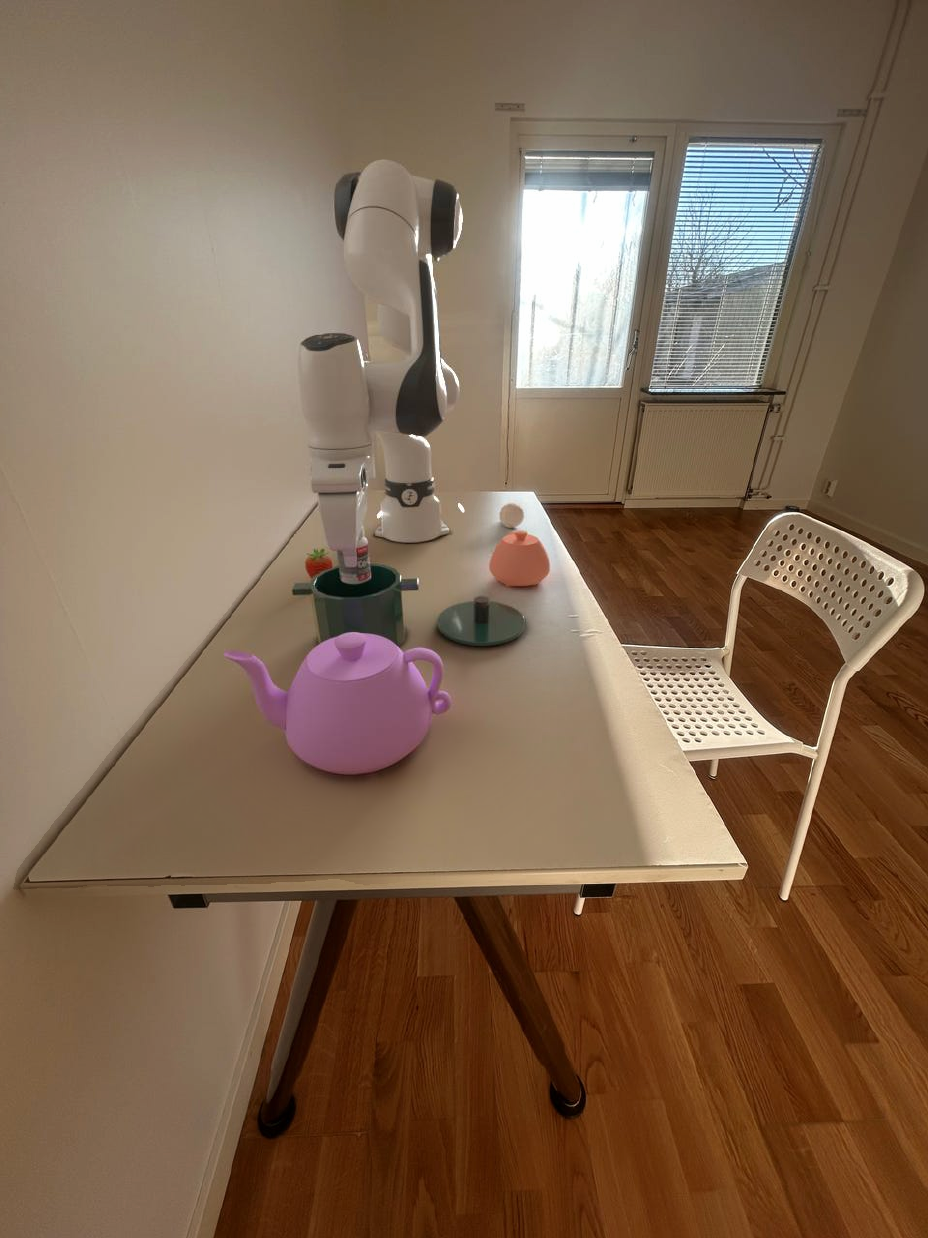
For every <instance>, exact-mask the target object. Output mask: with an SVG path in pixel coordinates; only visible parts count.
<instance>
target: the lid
mask: <svg viewBox="0 0 928 1238" xmlns="http://www.w3.org/2000/svg"><path fill="white" fill-rule="evenodd" d="M437 628H438V631H439V632H440V633H441V634H442V636H444V637H446V638H447V639H449V640H451V641H454V642H455V643H459V644H461V645H462V644H463V645H468V646H478V647H487V646H495V645H496V646H497V645H501V644H505V643H508V642H511V641H513V640H515V639H517V638H518V637H519V636H521V635H522V633H523V632H524V631H525V628H526V619H525V617H524V615H523V613H522V612H520V611H519V610H518V609H516V608H514V607H513V606H510V605H508V604H505V603H501V602H497V601H490V598H489V597H488V596H485V595H478V596H475V597H474V598H473V601H472V600H471V601H465V602H461V603H457V604H454V605H451V606H449V607H448V608H446V609H444V610H443V611H442V612H441V613H440V614H439V616H438V617H437Z"/></svg>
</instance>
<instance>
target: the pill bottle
mask: <svg viewBox="0 0 928 1238" xmlns="http://www.w3.org/2000/svg"><path fill="white" fill-rule="evenodd" d="M356 552H357V557H358V563H357V566H356V567H346V566H345V562H344V556H343V553H342V551H336V554H337V555H336V556H337V562H338V566H339V571H340V578H341V581H342V582H344V583H347V584H361V583H364V582H366V581H368V580H369V579H370V578H371V569H370V563H371V560H370V551H369V542H368V539H367V538H366V536H365V528H364V525H362V528H361V532H360V535H359V539H358V542H357V546H356Z"/></svg>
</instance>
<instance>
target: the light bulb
mask: <svg viewBox="0 0 928 1238" xmlns="http://www.w3.org/2000/svg"><path fill="white" fill-rule="evenodd" d="M498 517H499V521H500V523H501V524H502V525H503V526H504V527H506V528H508V529H513V528H517V527H518V526H520V525H521V524H522V522H524V521H523V520H524V518H525V511H524V509H523V507H521V505H520V504H518V503H516V502H508V503H506V504H504V505H503V506H502V507H500V510H499V516H498Z"/></svg>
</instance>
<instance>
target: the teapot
mask: <svg viewBox="0 0 928 1238" xmlns="http://www.w3.org/2000/svg"><path fill="white" fill-rule="evenodd" d="M223 655H224V657H226V658H227V659H228V660H231V661H232V662H234V663H236V664H237V665H239V666H240V667H241V668H242V669H243V670H244V671H245V673H246V674H247V676H248V678H249V680H250V683H251V686H252V690H253V693H254V699H255V702H256V705H257V707H258V710H259V712H260V714H261V715H262V716H263V718H264V719H265V720H266V721H267V722H268V723H269V724H271V725H272V726H274V727H276V728H278V729H279V730H281V731H283V732H284V733H285V739H286V742H287V745H288V747H290V749H291V750H292V752H293V753H294V754H295V755H296V756H297V757H298V758H299V759H300V760H302V761H303V762H304V763H306V764H308V765H309V766H312V767H314V768H316V769H318V770H322V771H325V772H328V773H333V774H337V775H346V776H347V775H349V776H350V775H351V776H354V775H355V776H356V775H363V774H369V773H374V772H377V771H380V770H383V769H386V768H388V767H391V766H393V765H394V764H397V763H398V762H399V761H401V760H402V759H404V758H406V757H407V756H408V755H409V754H410V753H411V752H413V751H414V750H415V749H416V748H417V747H418V746H419V745H420V743H422V741H423V740H424V739H425V737H426V736H427V734H428V731H429V729H430V727H431V724H432V720H433V714H434V715H442V714H444V713H446V712H448V711H449V710H450V708H451V705H452V697H451V695H450V694H449V693H448V692H447V691H444V690H440V688H441V684H442V681H443V676H444V663H443V660H442V658H441V657H440V655H439V654H438V653H437V652H435V651H434V650H432V649H430V648H427V647H414V648H410V649H408V650H405V651H404V652H403V650H402V649H401V648H400V646H399V647H398V646H396V645H395V644H394V643H393V642H392V641H390V640H388V639H386V638H384V637H382V636H379V635H374V634H366V633H357V632H350V633H345V634H342V635H340V636H337V637H334V638H331V639H329V640H326V641H324V642H322V643H321V644H319V643H318V645H316V646H315V647H314V648H312V649H311V650H310V651H309V652H308V654H307V655H306V657H305V658H304V659H303V661H302V663H301V665H300V666H299V668H298V670H297V673H296V674H295V677H294V678H293V680H292V682H291V684H290V688H289V690H288V691H285V690H283V689H281V688H279V687H278V686H277V685H276V684H275V683H274V682H273V680H272V678H271V676H270V674H269V671H268V669H267V667H266V666H265V664H264V662H263V661H262V660H261V659H260V658H258V657H257V656H255V655H254V654H251V653H248V652H244V651H240V650H239V651H238V650H227V651H224V652H223ZM416 661H424V662H425V661H426V662H429V663H431V664H432V665H433V675H432V679H431V681H430V685H429V688H428V686H427V684H426V682H425V680H424V678H423V676H422V674H421V673H420V671H419V670H418V668H417V667H416V665H415V664H414V663H413V662H416ZM439 700H442V701H439ZM437 701H439V702H437Z"/></svg>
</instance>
